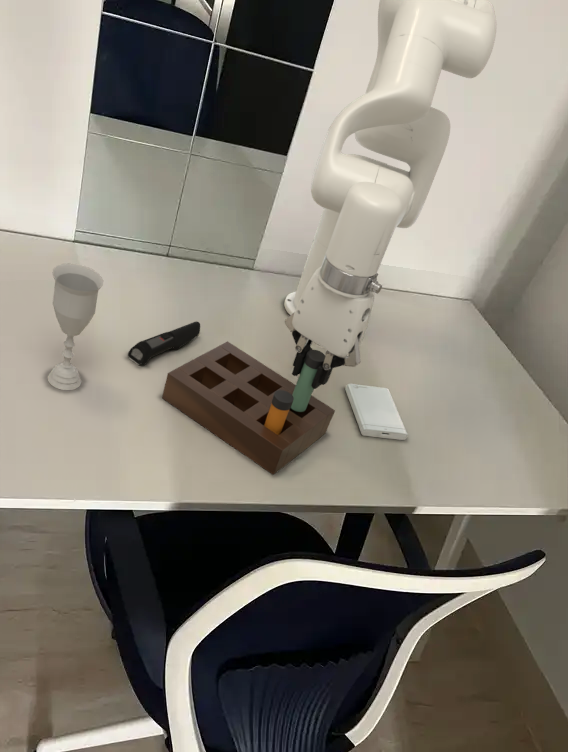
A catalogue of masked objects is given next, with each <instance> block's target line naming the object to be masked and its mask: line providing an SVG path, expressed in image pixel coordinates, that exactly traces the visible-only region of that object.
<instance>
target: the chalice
mask: <svg viewBox="0 0 568 752" xmlns="http://www.w3.org/2000/svg"><path fill="white" fill-rule="evenodd" d="M52 277H53V279H54V289H53V298H52V306H53V307H52V308H53V310H54V314H55V317H56V321H57V323H58V325H59V327H60V330H61V331H62V333H63V334H65V335H66V339H65V341H64V342H63V345H64V346H65V349H64V350H62V352H61V355H62V357H63V362H59V363H57V364H55V365H54V366H53V368H52V369H51V371H50V373H49V374H48V375H47V381H48V383H49V384H50V385H51V386H52V387H53V388H55V389H58V390H62V391H74V390H76V389H78V388H79V387H81V385H82V377H81V375H80V373H79V369H78V368H77V367H76V366H75V364H73V363H71V361H72V358H73V357H74V356H75V354H74V352H73V348H74V347H75V346H76V344H75V342H74V337H77V336H79V335H81V334H82V332H83V331H84V330H85V329H86V327H87V326H88V325H89V324H90V323H91V322H92V321H91V320H92V319H93V318H94V316H95V314H96V308H97V304H98V303H97V301H98V296H99V291H100V289H101V288H102V287H103V286H104V279H103V276H102V275H101V274H99V272H98V271H96V270H94V269H93V268H90V267H88V266H86V265H82V264H78V263H71V262H69V263H61V264H58V265H56V266H55V267H54V268H53V269H52Z"/></svg>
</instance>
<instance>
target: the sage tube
mask: <svg viewBox="0 0 568 752" xmlns="http://www.w3.org/2000/svg"><path fill="white" fill-rule="evenodd" d="M325 355H326V354H325V353H323V352H322V351H320V350H318V349H312V350H309V351H308V352H307V354H306V357H305V360H304V364H303V367H302V370H301V373H300V374H299V375H298V378H297V381H296V384H295V385H296V386H295V389H294V392H293V394H292V396H293V397H294V400H293V403H292V406H291V408H292V409H293V410H295V411H297V412H303V411H305V410H306V408H307V405H308V403H309V400H310V397H311V395H312V396H313V393H314V390H315V389H314V388H312V386H311V385H312V382H313V380H314V377H315V374H316V372H317V369H318V367H319V366H320V365H322V364H323V362H324V359H325Z"/></svg>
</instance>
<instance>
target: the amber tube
mask: <svg viewBox="0 0 568 752" xmlns="http://www.w3.org/2000/svg"><path fill="white" fill-rule="evenodd" d="M293 400H294V397H293V396H292V394H290V393H289V392H287V391H284V390H278V391H276V392H275V393H274V396H273V399H272V404H271V407H270V409H269V412H268V415H267V418H266V421H265V424H264V426H265V427H267V428H268V429H270V430H271V431H273V432H274V433H276V434H277V435H280V434H281V431H282V428H283V425H284V423H285V420H286V417H287V415H288V412H289V409H290V408H291V406H292V403H293Z"/></svg>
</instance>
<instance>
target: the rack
mask: <svg viewBox="0 0 568 752" xmlns="http://www.w3.org/2000/svg"><path fill="white" fill-rule="evenodd" d="M295 386H296V384H295V383H294V382H292V381H291V380H289V379H287V378H285V376H283V375H281V374H280V373H278V372H277V371H275V370H273V369H272V368H270V367H268V366H267V365H266V364H264V363H262V362H260V361H259V360H258V359H256V358H254V357H253V356H251V355H249V354H248V353H247V352H245V351H243V350H242V349H240V348H239V347H237V346H236V345H234V344H232V343H231V342H230V341H228V340H227V341H225V342H223V343H222V344H221V343H220V344H219V345H218V346H216V347H214V348H212V349H210V350H208V351H207V352H205V353H202V354H201V355H198V356H197V357H194V358H192V359H191V360H189V361H188V362H185V363H184V364H182V365H179V366H178V367H176V368H175V369H173V370H171V371H169V372H167V375H166V379H165V384H164V388H163V392H162V396H161V399H162V400H164V401H166V402H167V403H168V404H170V405H171V406H173V407H174V408H176V409H177V410H179V411H180V412H181V413H182V414H184V415H186V416H187V417H188V418H190V419H192V420H193V421H194V422H196V423H197V424H199V425H200V426H202V427H203V428H205V430H208V431H209V432H210V433H212V434H213V435H215V436H216V437H218V438H219V439H221V440H222V441H223V442H224V443H226V444H228V445H229V446H231V447H232V448H233V449H235V450H237V452H240V454H242V455H244V456H245V457H246V458H248V459H249V460H251V461H252V462H254V463H256V464H257V465H258V466H260V467H261V468H263V469H264V470H265V471H267V472H268V473H270V474H271V475H275V474H276V473H277V472H279V471H280V470H281V469H283V468H284V467H285V466H286V465H288V464H289V463H290V462H291V461H293V460H294V459H296V458H297V457H298V456H299V455H301V454H302V453H303V452H304V451H306V450H307V449H308V448H309V447H310V446H312V445H313V444H314V443H316V442H317V441H318V440H319V439H320V438H322V437H323V436H324V435H326V433H327V431H328V428H329V426H330V424H331V421H332V419H333V417H334V414H335V412H336V409H334V408H332V407H331V406H329V405H328V404H326V403H325V402H323V401H322V400H320V399H318V398H317V397H315V396H314V395H313V394H312V395H311V397H310V400H309V403H308V405H307V408H306V410H305V411H303V412H297V411H295V410H293V409H292V408H290V409H289V412H288V415H287V417H286V420H285V423H284V425H283V428H282V431H281V434H280V435H277V434H276V433H274V432H273V431H271V430H270V429H268V428H267V427H265V426H264V424H265V421H266V418H267V415H268V412H269V409H270V407H271V404H272V399H273V396H274V393H275V392H276V391H278V390H284V391H287V392H289V393H290V394H293V392H294V389H295Z"/></svg>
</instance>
